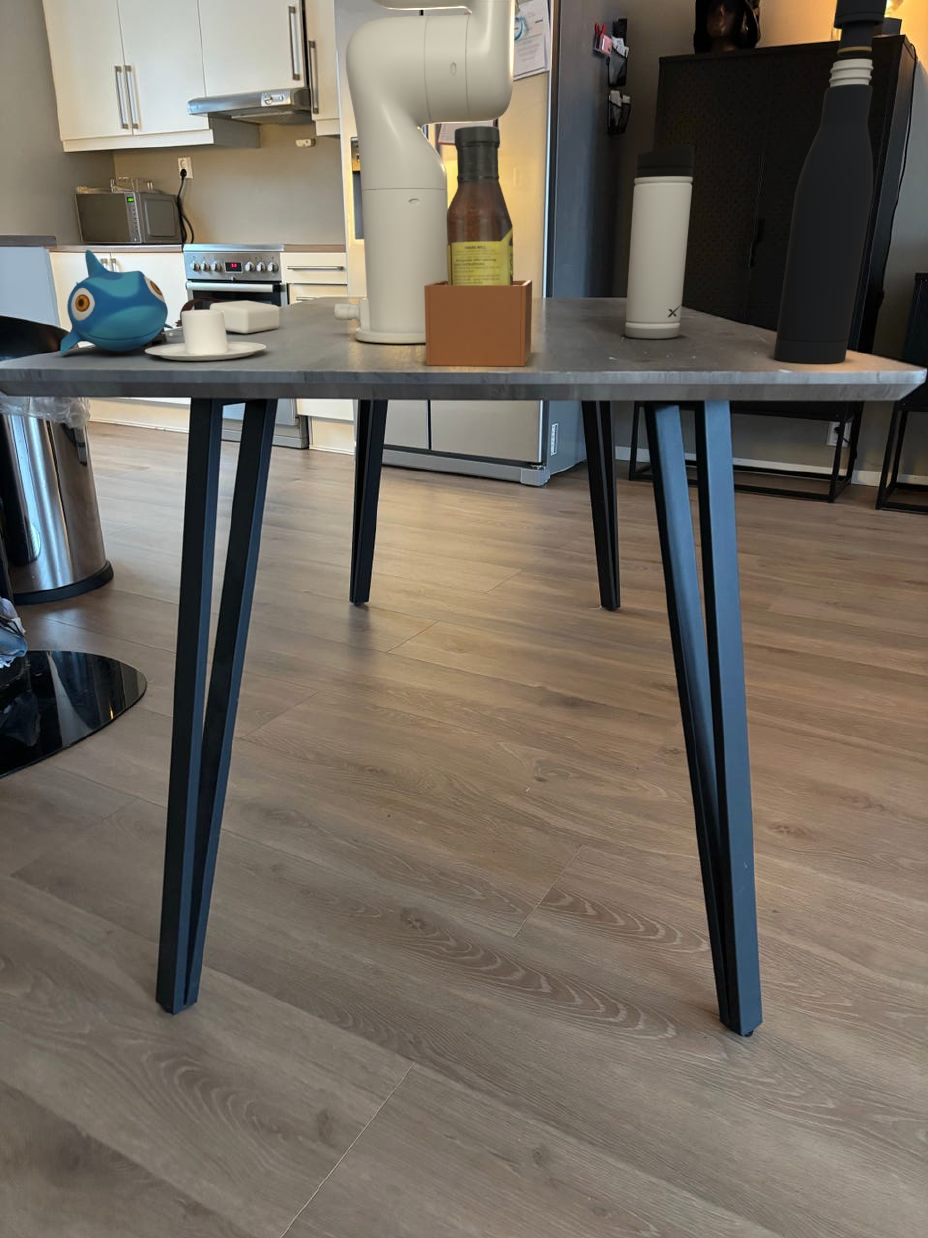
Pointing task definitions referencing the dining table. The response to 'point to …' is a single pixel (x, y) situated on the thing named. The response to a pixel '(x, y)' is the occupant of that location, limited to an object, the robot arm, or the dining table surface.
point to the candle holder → (205, 340)
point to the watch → (191, 303)
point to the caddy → (478, 324)
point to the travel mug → (659, 242)
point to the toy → (114, 309)
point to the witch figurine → (176, 326)
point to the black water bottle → (832, 204)
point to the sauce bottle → (479, 214)
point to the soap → (248, 316)
